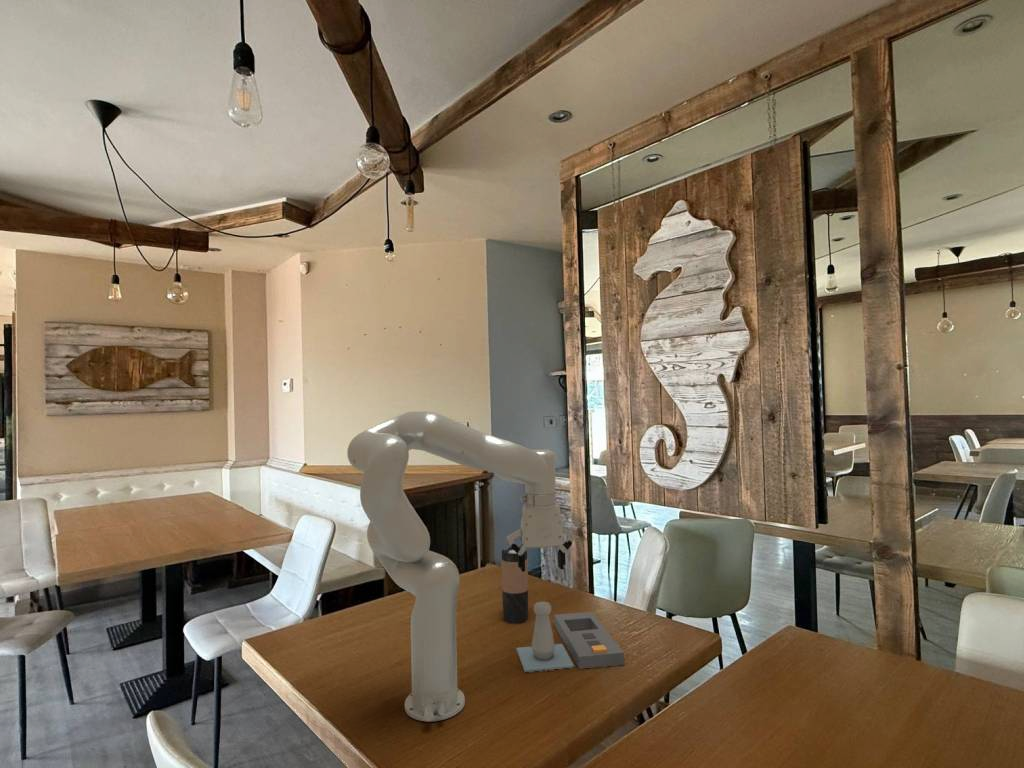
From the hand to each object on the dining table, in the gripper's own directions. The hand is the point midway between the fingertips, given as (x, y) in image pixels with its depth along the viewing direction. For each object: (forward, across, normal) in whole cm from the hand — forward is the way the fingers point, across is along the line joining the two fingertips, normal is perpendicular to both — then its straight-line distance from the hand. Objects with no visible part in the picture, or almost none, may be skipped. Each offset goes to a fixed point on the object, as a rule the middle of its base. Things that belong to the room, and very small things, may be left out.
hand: (541, 569), depth 138 cm
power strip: (+22, +13, +6) cm, 26 cm away
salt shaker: (+22, 0, 0) cm, 22 cm away
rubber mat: (+22, 0, 0) cm, 22 cm away
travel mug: (+22, -3, +26) cm, 34 cm away
